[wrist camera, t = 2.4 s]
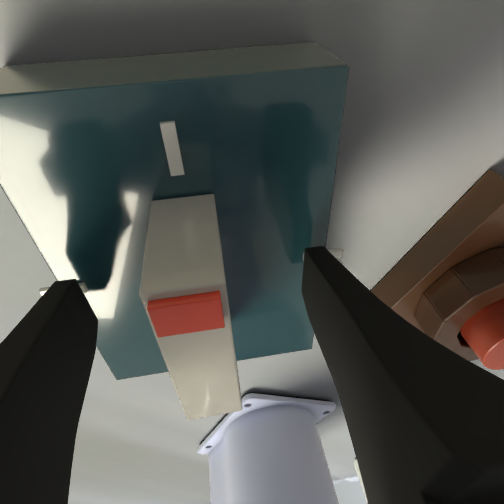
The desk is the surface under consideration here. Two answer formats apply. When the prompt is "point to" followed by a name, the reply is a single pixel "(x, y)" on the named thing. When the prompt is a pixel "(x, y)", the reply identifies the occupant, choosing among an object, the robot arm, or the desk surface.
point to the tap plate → (177, 178)
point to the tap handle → (191, 304)
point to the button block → (453, 268)
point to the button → (487, 335)
